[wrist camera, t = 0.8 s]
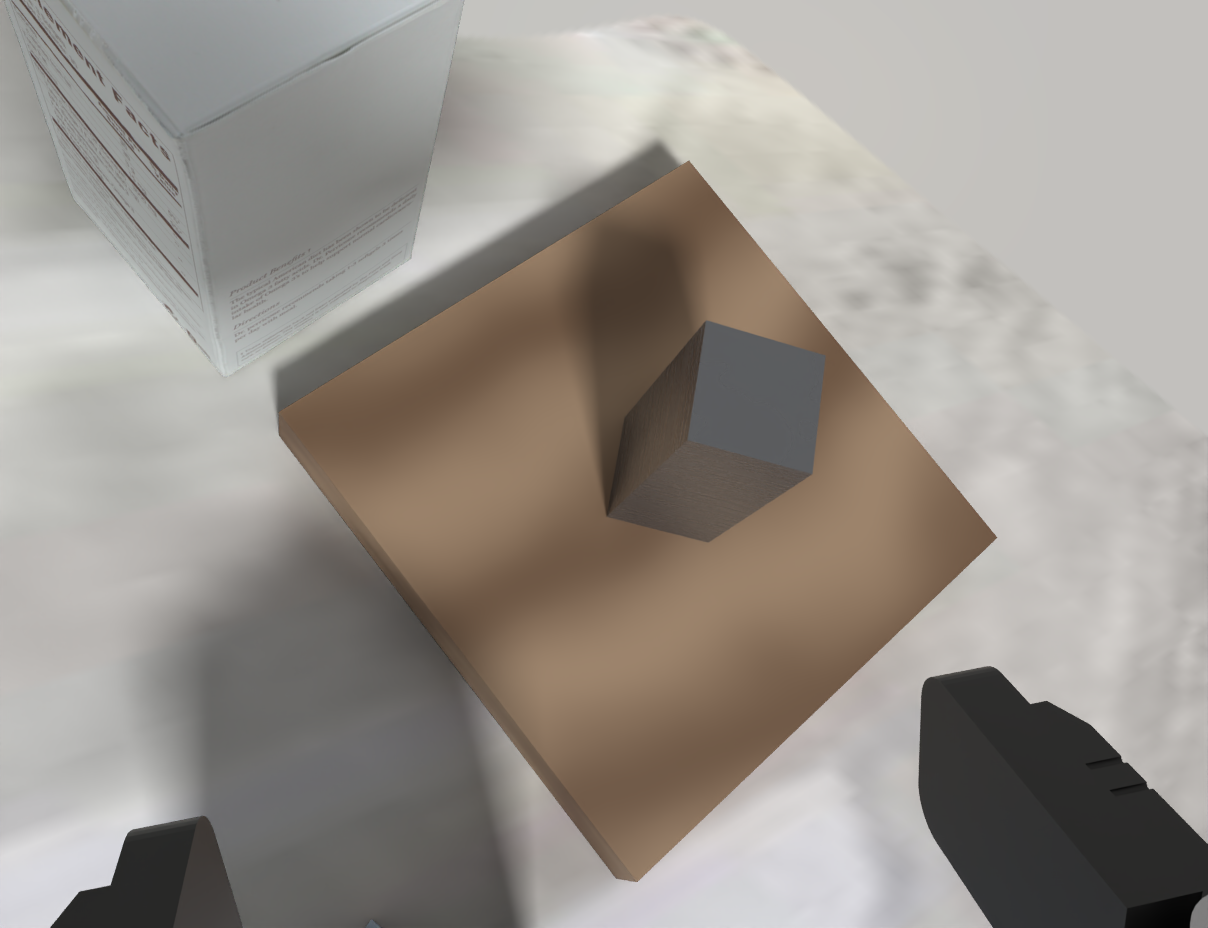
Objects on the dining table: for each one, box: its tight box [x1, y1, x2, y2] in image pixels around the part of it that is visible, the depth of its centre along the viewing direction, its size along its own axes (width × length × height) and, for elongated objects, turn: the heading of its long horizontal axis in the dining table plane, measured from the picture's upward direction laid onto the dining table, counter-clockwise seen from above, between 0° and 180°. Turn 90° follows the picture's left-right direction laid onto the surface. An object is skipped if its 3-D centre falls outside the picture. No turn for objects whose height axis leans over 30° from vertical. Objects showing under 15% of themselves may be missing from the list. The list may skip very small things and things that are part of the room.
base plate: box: [279, 161, 997, 882], centre depth 34 cm, size 16×16×2 cm
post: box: [607, 320, 826, 543], centre depth 30 cm, size 5×5×7 cm
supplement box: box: [4, 0, 464, 377], centre depth 28 cm, size 7×7×13 cm
